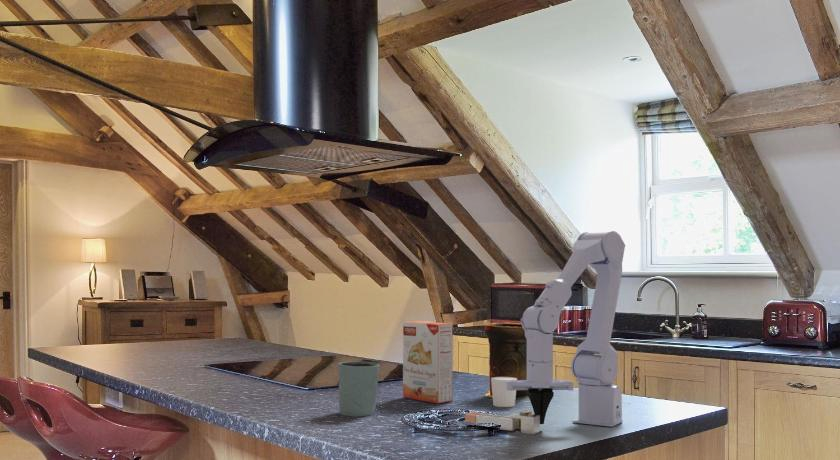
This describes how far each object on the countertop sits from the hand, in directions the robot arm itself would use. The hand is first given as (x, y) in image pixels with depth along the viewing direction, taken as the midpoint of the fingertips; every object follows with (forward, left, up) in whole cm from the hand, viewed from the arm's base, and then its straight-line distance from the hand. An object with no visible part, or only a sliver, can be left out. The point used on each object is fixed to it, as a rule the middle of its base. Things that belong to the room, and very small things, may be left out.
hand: (539, 423), depth 176 cm
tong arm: (+10, +2, -1) cm, 10 cm away
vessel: (+27, -41, -2) cm, 49 cm away
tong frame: (+7, +4, -1) cm, 8 cm away
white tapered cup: (+21, -25, -2) cm, 33 cm away
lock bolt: (+5, 0, -1) cm, 5 cm away
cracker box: (+42, -21, -2) cm, 47 cm away
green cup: (+45, +6, -2) cm, 45 cm away
